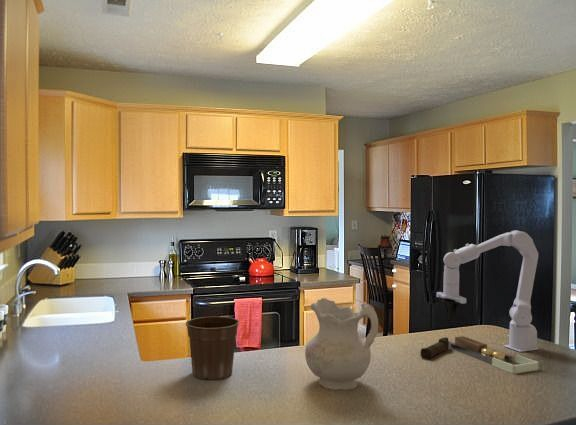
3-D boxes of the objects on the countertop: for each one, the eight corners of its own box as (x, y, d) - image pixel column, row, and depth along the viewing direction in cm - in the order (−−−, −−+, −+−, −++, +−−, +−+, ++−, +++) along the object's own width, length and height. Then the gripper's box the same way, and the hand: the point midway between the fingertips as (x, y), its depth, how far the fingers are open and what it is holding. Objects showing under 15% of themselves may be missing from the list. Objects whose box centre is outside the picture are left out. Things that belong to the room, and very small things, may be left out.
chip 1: (487, 355, 185) (487, 347, 185) (495, 358, 181) (496, 350, 181) (478, 356, 184) (478, 348, 183) (487, 359, 180) (487, 351, 180)
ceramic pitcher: (383, 382, 158) (385, 300, 159) (372, 400, 139) (374, 306, 141) (314, 374, 165) (317, 295, 166) (295, 390, 146) (298, 300, 148)
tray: (516, 361, 178) (517, 354, 178) (539, 369, 170) (539, 362, 170) (492, 365, 173) (492, 357, 173) (513, 373, 165) (514, 365, 165)
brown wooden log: (430, 361, 178) (430, 347, 178) (419, 358, 181) (420, 345, 180) (455, 350, 192) (455, 338, 192) (444, 348, 194) (445, 335, 194)
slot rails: (462, 343, 200) (462, 338, 200) (512, 361, 178) (512, 356, 178) (444, 345, 197) (444, 340, 197) (492, 364, 175) (492, 358, 175)
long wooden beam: (463, 346, 197) (463, 336, 197) (486, 355, 186) (487, 344, 186) (454, 347, 195) (455, 337, 195) (478, 356, 184) (478, 345, 184)
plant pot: (174, 373, 159) (175, 321, 159) (215, 362, 171) (216, 313, 171) (207, 387, 148) (208, 330, 148) (249, 374, 160) (250, 322, 160)
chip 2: (498, 359, 181) (498, 350, 181) (507, 362, 178) (507, 353, 178) (489, 360, 180) (489, 351, 180) (498, 363, 176) (498, 354, 176)
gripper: (430, 281, 205) (429, 315, 205) (456, 287, 192) (455, 323, 192) (444, 280, 208) (444, 314, 208) (471, 286, 195) (470, 322, 195)
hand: (450, 318), depth 200 cm, fingers closed
